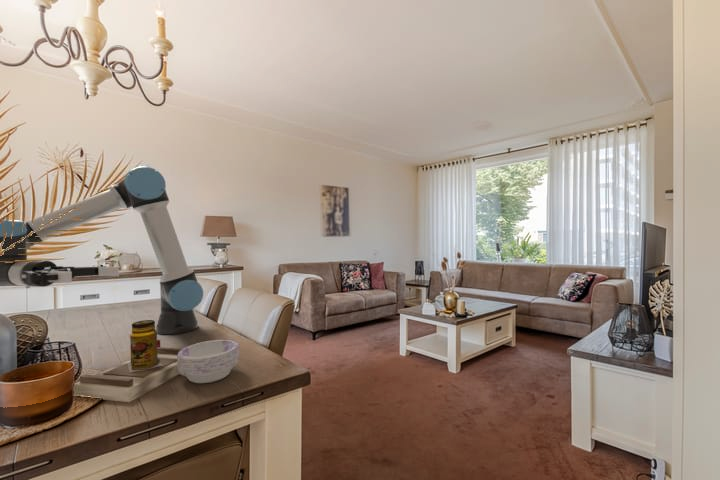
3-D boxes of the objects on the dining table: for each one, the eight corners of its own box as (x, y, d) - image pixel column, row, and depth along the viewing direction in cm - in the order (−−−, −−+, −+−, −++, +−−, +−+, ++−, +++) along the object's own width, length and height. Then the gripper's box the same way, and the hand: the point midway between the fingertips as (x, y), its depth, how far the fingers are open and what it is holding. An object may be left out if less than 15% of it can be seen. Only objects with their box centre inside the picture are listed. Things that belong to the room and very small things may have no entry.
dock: (152, 360, 104) (152, 345, 104) (198, 363, 101) (198, 348, 101) (72, 396, 81) (72, 377, 80) (129, 402, 77) (128, 382, 77)
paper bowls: (169, 377, 91) (169, 348, 91) (224, 361, 102) (224, 335, 102) (190, 395, 81) (189, 362, 80) (249, 375, 92) (248, 346, 91)
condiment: (129, 373, 86) (129, 326, 86) (127, 363, 92) (126, 320, 92) (162, 366, 90) (161, 321, 90) (158, 357, 97) (157, 316, 97)
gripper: (79, 280, 110) (134, 281, 106) (-21, 293, 85) (46, 295, 81) (78, 257, 110) (133, 257, 106) (-22, 264, 85) (45, 264, 81)
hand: (95, 274), depth 93 cm, fingers open, 13 cm apart
